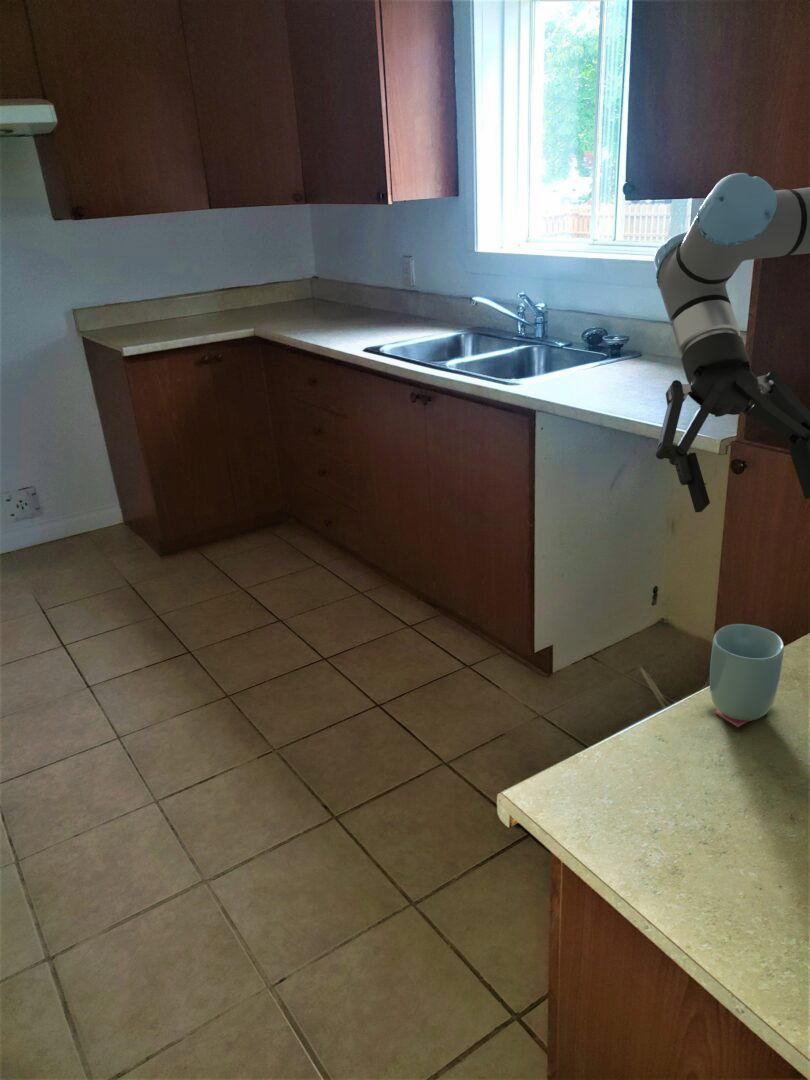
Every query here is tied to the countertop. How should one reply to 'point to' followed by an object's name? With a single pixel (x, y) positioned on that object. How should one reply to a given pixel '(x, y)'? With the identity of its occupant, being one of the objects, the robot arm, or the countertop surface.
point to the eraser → (731, 719)
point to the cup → (745, 670)
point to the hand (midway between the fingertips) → (758, 501)
